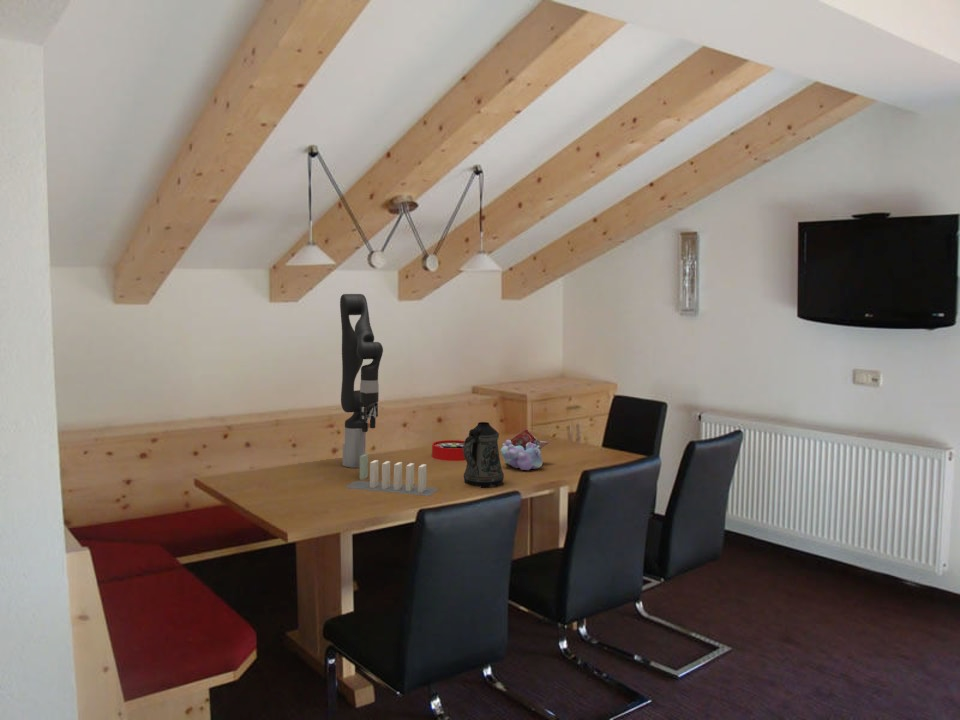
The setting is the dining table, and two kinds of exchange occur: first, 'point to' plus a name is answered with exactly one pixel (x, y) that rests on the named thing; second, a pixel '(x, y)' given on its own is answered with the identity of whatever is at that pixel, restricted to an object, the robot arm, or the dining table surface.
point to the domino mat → (390, 488)
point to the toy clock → (448, 450)
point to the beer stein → (482, 457)
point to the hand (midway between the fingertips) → (368, 430)
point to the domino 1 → (363, 466)
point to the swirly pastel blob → (523, 451)
